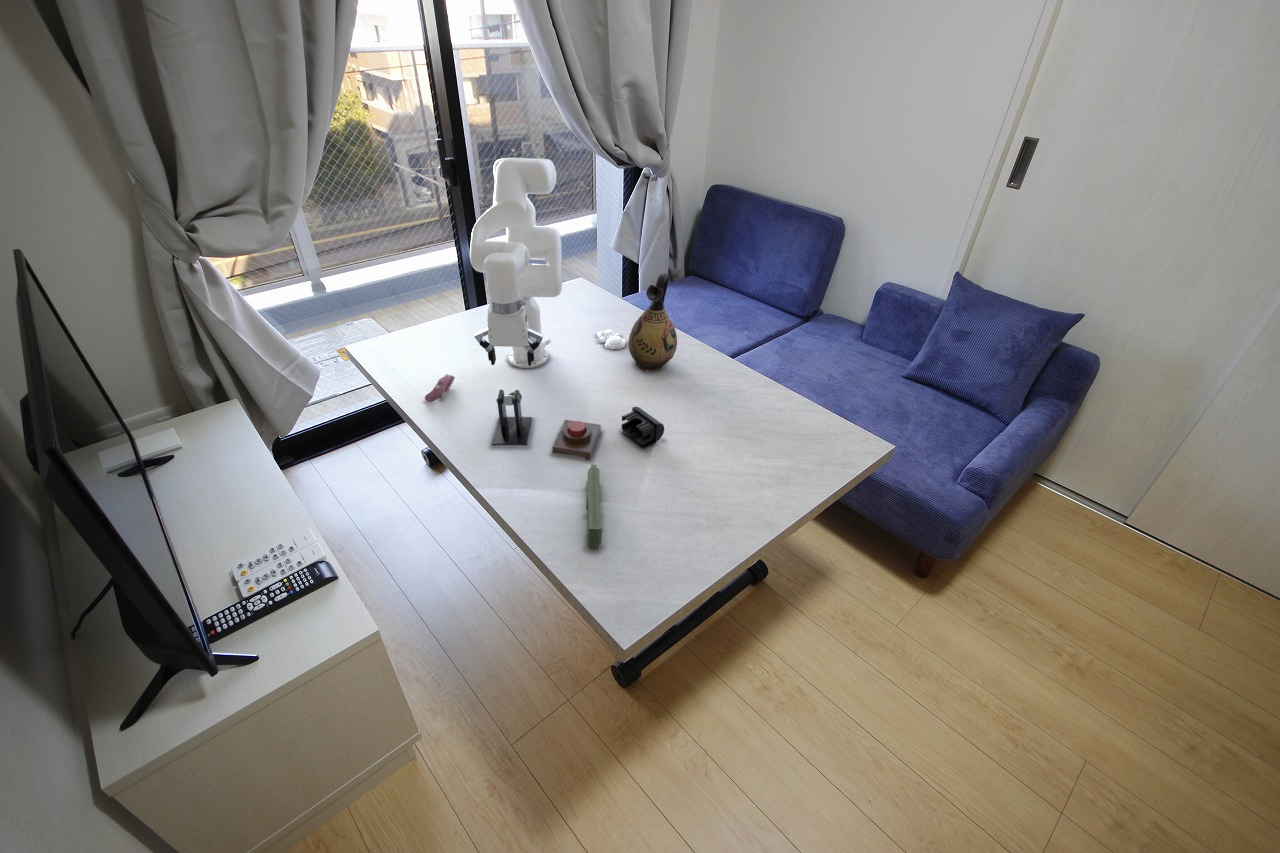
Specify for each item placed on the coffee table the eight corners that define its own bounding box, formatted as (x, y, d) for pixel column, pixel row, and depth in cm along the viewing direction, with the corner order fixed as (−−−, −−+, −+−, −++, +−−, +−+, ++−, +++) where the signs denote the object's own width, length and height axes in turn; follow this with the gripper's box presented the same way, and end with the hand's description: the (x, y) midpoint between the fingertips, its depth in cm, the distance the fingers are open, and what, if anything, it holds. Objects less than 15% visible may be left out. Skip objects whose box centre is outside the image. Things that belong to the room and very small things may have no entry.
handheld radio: (585, 549, 123) (586, 471, 142) (601, 549, 123) (599, 471, 143) (586, 528, 119) (587, 451, 138) (602, 528, 119) (600, 451, 139)
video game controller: (437, 408, 163) (443, 392, 159) (422, 400, 162) (428, 384, 158) (452, 390, 171) (459, 374, 166) (439, 382, 170) (445, 366, 166)
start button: (571, 425, 150) (570, 419, 149) (587, 427, 150) (587, 422, 149) (566, 435, 147) (566, 429, 146) (583, 437, 147) (582, 432, 146)
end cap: (663, 440, 154) (665, 420, 150) (644, 450, 150) (645, 430, 146) (639, 422, 159) (640, 403, 155) (620, 432, 156) (620, 412, 152)
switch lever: (509, 403, 158) (509, 390, 158) (522, 403, 158) (522, 390, 158) (500, 407, 145) (500, 393, 145) (515, 407, 145) (514, 393, 145)
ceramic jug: (666, 381, 177) (674, 291, 158) (620, 370, 181) (622, 282, 162) (682, 356, 190) (691, 270, 171) (639, 346, 193) (643, 261, 175)
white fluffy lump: (615, 331, 201) (615, 323, 199) (629, 347, 193) (630, 339, 191) (592, 335, 198) (592, 328, 196) (606, 352, 190) (606, 344, 188)
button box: (565, 427, 156) (564, 414, 154) (600, 432, 155) (600, 419, 152) (552, 454, 147) (551, 441, 144) (590, 460, 146) (590, 447, 143)
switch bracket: (499, 420, 158) (494, 381, 150) (532, 420, 158) (528, 381, 150) (492, 447, 148) (486, 407, 140) (526, 447, 149) (522, 408, 141)
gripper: (542, 298, 144) (546, 355, 154) (472, 296, 143) (481, 354, 153) (539, 312, 138) (543, 371, 148) (466, 310, 137) (476, 370, 147)
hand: (512, 362), depth 151 cm, fingers open, 9 cm apart
